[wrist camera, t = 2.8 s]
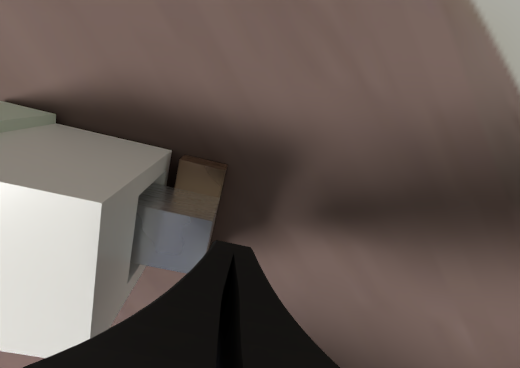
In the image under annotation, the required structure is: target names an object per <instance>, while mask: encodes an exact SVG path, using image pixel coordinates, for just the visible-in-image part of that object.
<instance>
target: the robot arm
mask: <svg viewBox="0 0 520 368" xmlns="http://www.w3.org/2000/svg"><path fill="white" fill-rule="evenodd" d="M23 368H340V367H339V366H338V365H337V364H336V363H334V362H333V361H332V360H331V359H330V358H329V357H328V356H327V355H326V354H325V353H324V352H323V351H322V350H321V349H320V348H319V347H318V346H317V345H316V344H315V342H314V341H313V340H312V339H311V338H310V337H309V336H308V335H307V334H306V333H305V332H304V331H303V329H302V328H301V327H300V326H299V325H298V323H297V322H296V321H295V320H294V318H293V317H292V316H291V315H290V313H289V312H288V311H287V309H286V308H285V307H284V305H283V304H282V302H281V301H280V299H279V298H278V296H277V295H276V293H275V292H274V290H273V288H272V287H271V285H270V283H269V282H268V280H267V278H266V276H265V274H264V273H263V271H262V269H261V267H260V265H259V263H258V261H257V259H256V256H255V254H254V252H253V250H252V249H251V247H247V246H242V245H237V244H232V243H227V242H223V241H218V240H216V241H215V242H213V243H212V245H211V247H210V248H209V250H208V251H207V253H206V254H205V255H204V256H203V257H202V259H201V260H200V261H199V262H198V263H197V264H196V265H195V266H194V267H193V268H192V269H191V270H190V271H189V272H188V273H187V274H186V275H185V276H184V277H183V278H182V279H181V280H180V281H179V282H178V283H176V284H175V285H174V286H173V287H172V288H170V289H169V290H168V291H167V292H166V293H164V294H163V295H162V296H160V297H159V298H158V299H156V300H155V301H153V302H152V303H151V304H149V305H148V306H146V307H145V308H143V309H142V310H140V311H138V312H137V313H135V314H134V315H132V316H131V317H129V318H127V319H126V320H124V321H122V322H121V323H119V324H117V325H115V326H113V327H111V328H109V329H107V330H106V331H104V332H102V333H100V334H98V335H96V336H94V337H92V338H90V339H88V340H86V341H84V342H82V343H80V344H78V345H76V346H73V347H71V348H69V349H66V350H64V351H61V352H59V353H57V354H54V355H52V356H50V357H47V358H45V359H43V360H40V361H38V362H35V363H33V364H30V365H28V366H25V367H23Z"/></svg>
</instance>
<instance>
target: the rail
mask: <svg viewBox="0 0 520 368" xmlns="http://www.w3.org/2000/svg"><path fill="white" fill-rule="evenodd" d="M226 170H227V164H223V163H218V162H214V161H210V160H205V159H201V158H197V157H193V156H188V155H184V156H183V157H182V158H181V159H180V160H179V165H178V171H177V177H176V183H175V188H173V187H168V186H164V185H159V184H155V183H152V184H151V185H150V186H149V187H148V188H146V189H145V190H144V191H143V192H142V193H141V194H140V195H139V197H138V204H137V212H136V220H135V228H134V236H133V243H132V251H131V259H130V263H136V264H141V265H146V266H151V267H156V268H162V269H167V270H172V271H177V272H183V273H188V272H189V271H190V270H191V269H192V268H193V267H194V266H195V265H196V264H197V263H198V262H199V261H200V260H201V259H202V257H203V256H204V255H205V254H206V253H207V251H208V250H209V247H210V242H211V238H212V233H213V229H214V224H215V220H216V215H217V211H218V206H219V202H220V197H221V193H222V188H223V184H224V179H225V175H226Z"/></svg>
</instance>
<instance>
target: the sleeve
mask: <svg viewBox="0 0 520 368" xmlns="http://www.w3.org/2000/svg"><path fill="white" fill-rule="evenodd" d="M171 153H172V150H168V149H164V148H160V147H155V146H151V145H147V144H143V143H138V142H134V141H130V140H125V139H121V138H117V137H113V136H108V135H104V134H100V133H95V132H91V131H87V130H83V129H78V128H74V127H70V126H65V125H61V124H57V123H55V124H49V125H43V126H37V127H31V128H25V129H19V130H13V131H7V132H1V133H0V351H4V352H10V353H17V354H23V355H30V356H36V357H43V358H47V357H50V356H52V355H54V354H57V353H59V352H61V351H64V350H66V349H69V348H71V347H73V346H76V345H78V344H80V343H82V342H84V341H86V340H88V339H90V338H92V337H94V336H96V335H98V334H100V333H102V332H104V331H106V330H107V329H109V328H110V326H111V325H112V323H113V321H114V319H115V318H116V316H117V314H118V313H119V311H120V309H121V308H122V306H123V304H124V303H125V301H126V299H127V298H128V296H129V294H130V293H131V291H132V289H133V288H134V286H135V284H136V283H137V281H138V279H139V278H140V276H141V274H142V273H143V271H144V269H145V268H146V265H141V264H136V263H130V259H131V251H132V243H133V236H134V228H135V220H136V212H137V204H138V197H139V195H140V194H141V193H142V192H143V191H144V190H145V189H146V188H148V187H149V186H150V185H151V184H152V183H155V184H159V185H164V186H166V185H167V179H168V172H169V166H170V160H171Z"/></svg>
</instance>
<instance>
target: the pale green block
mask: <svg viewBox="0 0 520 368" xmlns="http://www.w3.org/2000/svg"><path fill="white" fill-rule="evenodd" d="M55 123H56V114H54V113H50V112H45V111H41V110H37V109H33V108H29V107H24V106H20V105H16V104H12V103H7V102H3V101H0V133H1V132H7V131H13V130H19V129H25V128H31V127H37V126H43V125H49V124H55Z"/></svg>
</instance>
